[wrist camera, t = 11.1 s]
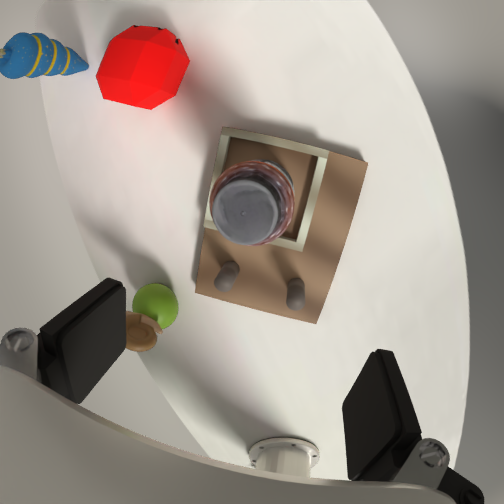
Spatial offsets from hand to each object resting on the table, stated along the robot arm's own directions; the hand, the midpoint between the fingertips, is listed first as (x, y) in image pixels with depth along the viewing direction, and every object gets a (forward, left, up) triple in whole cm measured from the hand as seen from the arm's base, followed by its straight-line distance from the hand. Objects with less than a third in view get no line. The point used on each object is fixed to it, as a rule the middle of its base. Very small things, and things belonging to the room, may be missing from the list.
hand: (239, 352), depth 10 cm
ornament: (+14, +27, -21) cm, 37 cm away
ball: (+13, +16, -21) cm, 29 cm away
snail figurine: (-13, +12, -21) cm, 27 cm away
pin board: (-1, 0, -21) cm, 21 cm away
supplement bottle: (+3, +2, -20) cm, 20 cm away
